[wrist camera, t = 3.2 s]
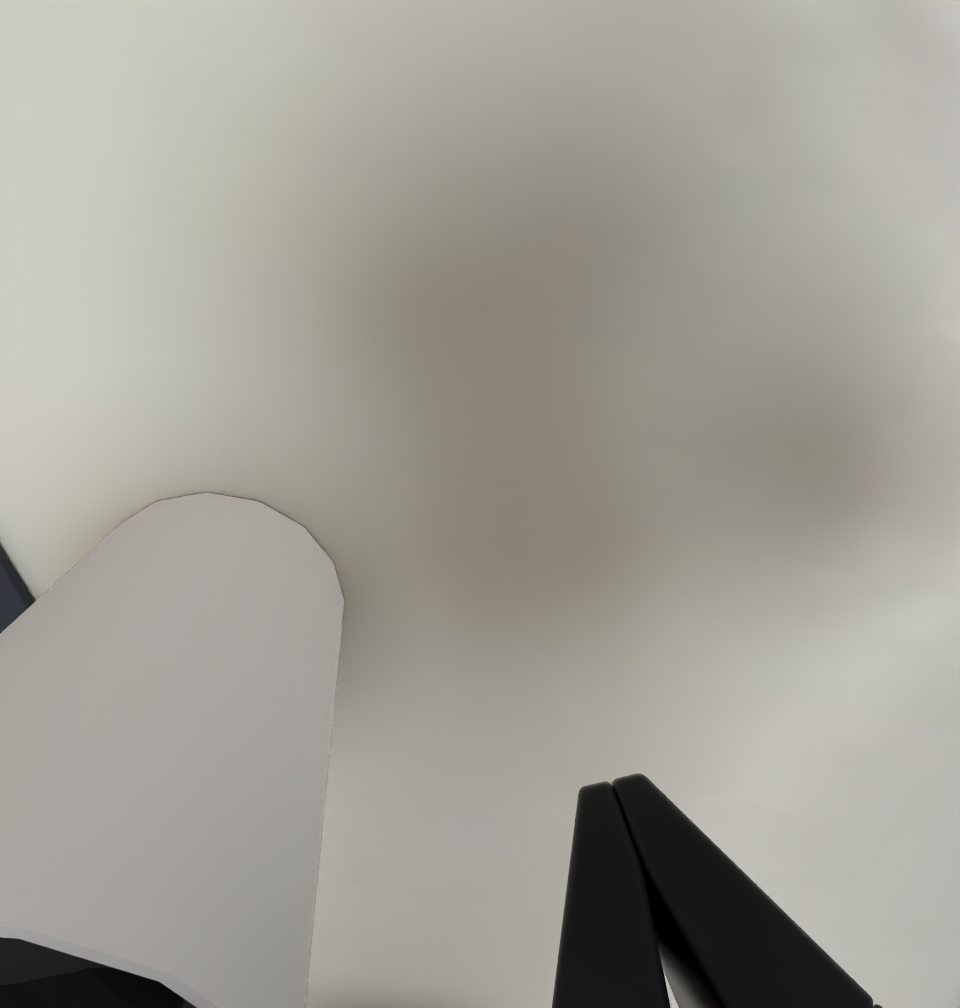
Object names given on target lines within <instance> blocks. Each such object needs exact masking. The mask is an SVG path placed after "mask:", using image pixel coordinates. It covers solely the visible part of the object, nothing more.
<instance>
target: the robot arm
mask: <svg viewBox="0 0 960 1008" xmlns="http://www.w3.org/2000/svg"><path fill="white" fill-rule="evenodd" d="M663 969H664V972H665V975H666V977H667V980H668V982H669V985H670V987H671V990H672V992H673V995H674V997H675V999H676V1002H677V1004H678V1006H679V1008H882V1007H881V1006H880V1005H874V1006H873V1000H872V998H871V996H870V995H869V994H868V993H867V992H866V991H865V990H864V989H862V988H861V987H860V986H859V985H858V984H857V983H856V982H855V981H854V980H853V979H852V978H851V977H850V976H849V975H848V974H847V973H846V972H845V971H844V970H843V969H842V968H841V967H840V966H839V965H838V964H837V963H836V962H835V961H834V960H833V959H832V958H831V957H830V956H829V955H828V954H827V953H826V952H825V951H824V950H823V949H822V948H821V947H820V946H819V945H818V944H816V943H815V942H814V941H813V940H812V939H811V938H810V937H809V936H808V935H807V934H806V933H805V932H804V931H803V930H802V929H801V928H800V927H799V926H798V925H797V924H796V923H795V922H794V921H793V920H792V919H791V918H790V917H789V916H788V915H787V914H786V913H785V912H784V911H783V910H782V909H781V908H780V907H779V906H778V905H777V904H776V903H775V902H774V901H773V900H772V899H770V898H769V897H768V896H767V895H766V894H765V893H764V892H763V891H762V890H761V889H760V888H759V887H758V886H757V885H756V884H755V883H754V882H753V881H752V880H751V879H750V878H749V877H748V876H747V875H746V874H745V873H744V872H743V871H742V870H741V869H740V868H739V867H738V866H737V865H736V864H735V863H734V862H733V861H732V860H731V859H730V858H729V857H728V856H727V855H726V854H725V853H723V852H722V851H721V850H720V849H719V848H718V847H717V846H716V845H715V844H714V843H713V842H712V841H711V840H710V839H709V838H708V837H707V836H706V835H705V834H704V833H703V832H702V831H701V830H700V829H699V828H698V827H697V826H696V825H695V824H694V823H693V822H692V821H691V820H690V819H689V818H688V817H687V816H686V815H685V814H684V813H683V812H682V811H681V810H680V809H679V808H677V807H676V806H675V805H674V804H673V803H672V802H671V801H670V800H669V799H668V798H667V797H666V796H665V795H664V794H663V793H662V792H661V791H660V790H659V789H658V788H657V787H656V786H655V785H654V784H653V783H652V782H651V781H650V780H649V779H648V778H647V777H645V776H644V775H642V774H633V775H629V776H625V777H621V778H617V779H615V780H614V781H613V782H612V785H611V784H610V783H609V782H600V783H596V784H592V785H588V786H584V787H582V788H581V789H580V791H579V795H578V802H577V810H576V818H575V826H574V834H573V843H572V851H571V859H570V867H569V875H568V883H567V891H566V899H565V907H564V915H563V923H562V931H561V939H560V947H559V955H558V963H557V971H556V979H555V987H554V995H553V1003H552V1008H670V1003H669V998H668V992H667V987H666V982H665V977H664V972H663Z"/></svg>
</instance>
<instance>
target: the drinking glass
mask: <svg viewBox="0 0 960 1008" xmlns="http://www.w3.org/2000/svg"><path fill="white" fill-rule="evenodd" d="M344 603H345V602H344V598H343V595H342V591H341V588H340V584H339V581H338V577H337V574H336V570H335V567H334V563H333V561H332V560H331V559H330V558H329V557H328V555H327V554H326V553H325V552H324V551H323V549H322V548H321V547H320V546H319V545H318V543H317V542H316V541H315V540H314V539H313V537H312V536H311V535H310V534H309V533H308V531H307V530H306V529H305V528H304V527H303V526H302V525H300V524H298V523H296V522H295V521H293V520H291V519H289V518H287V517H286V516H284V515H282V514H280V513H279V512H277V511H275V510H273V509H271V508H270V507H268V506H266V505H264V504H263V503H261V502H259V501H254V500H248V499H242V498H237V497H231V496H225V495H219V494H214V493H208V492H205V493H200V494H194V495H188V496H183V497H177V498H172V499H166V500H160V501H156V502H154V503H153V504H151V505H150V506H148V507H146V508H145V509H143V510H142V511H140V512H139V513H137V514H136V515H134V516H133V517H131V518H130V519H128V520H126V521H125V522H123V523H122V524H120V525H119V526H117V527H116V528H115V529H114V530H113V531H112V532H111V533H110V534H109V535H108V536H107V537H106V538H104V539H103V540H102V541H101V542H100V543H99V544H98V545H97V546H96V547H95V548H93V549H92V550H91V551H90V552H89V553H88V554H87V555H86V556H85V557H84V558H83V559H81V560H80V561H79V562H78V563H77V564H76V565H75V566H74V567H73V568H72V569H71V570H69V571H68V572H67V573H66V574H65V575H64V576H63V577H62V578H61V579H60V580H58V581H57V582H56V583H55V584H54V585H53V586H52V587H51V588H50V589H49V590H48V591H46V592H45V593H44V594H43V595H42V596H41V597H40V598H39V599H38V600H37V601H36V602H34V603H33V604H32V605H31V606H30V607H29V608H28V609H27V610H26V611H25V612H23V613H22V614H21V615H20V616H19V617H18V618H17V619H16V620H15V621H14V622H13V623H11V624H10V625H9V626H8V627H7V628H6V629H5V630H4V631H3V632H2V633H1V634H0V1008H305V1007H306V996H307V986H308V976H309V965H310V955H311V944H312V934H313V923H314V913H315V903H316V892H317V882H318V871H319V861H320V851H321V840H322V830H323V819H324V809H325V798H326V788H327V778H328V767H329V757H330V746H331V736H332V726H333V715H334V705H335V694H336V684H337V674H338V663H339V653H340V642H341V632H342V621H343V611H344Z"/></svg>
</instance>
